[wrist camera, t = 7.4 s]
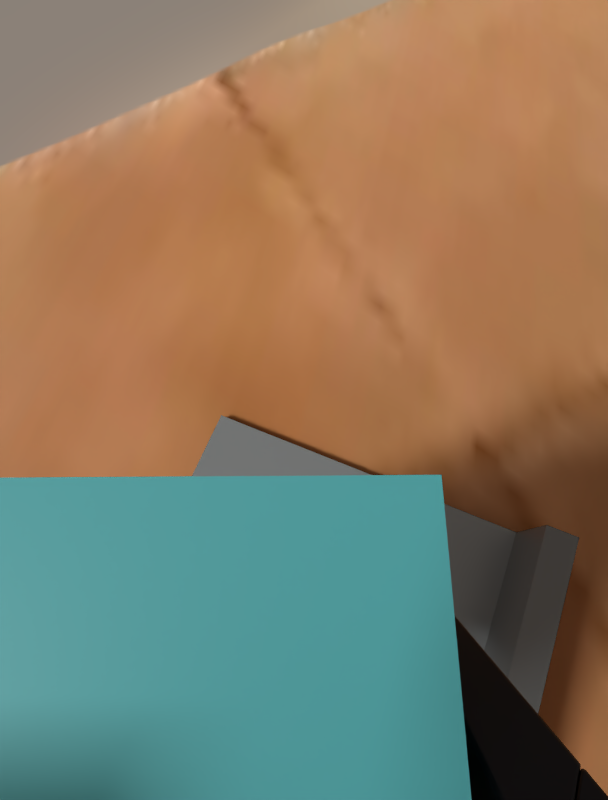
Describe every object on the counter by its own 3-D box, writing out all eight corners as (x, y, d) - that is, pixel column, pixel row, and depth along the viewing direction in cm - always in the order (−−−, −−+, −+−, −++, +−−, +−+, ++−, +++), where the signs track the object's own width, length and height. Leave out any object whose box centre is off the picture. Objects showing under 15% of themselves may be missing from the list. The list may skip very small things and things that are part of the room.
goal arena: (431, 968, 18) (458, 1056, 14) (54, 765, 20) (2, 802, 17) (540, 543, 22) (579, 537, 19) (222, 418, 24) (208, 392, 21)
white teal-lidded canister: (376, 770, 14) (506, 1166, 4) (155, 768, 14) (-178, 1151, 5) (366, 535, 16) (440, 464, 6) (173, 535, 16) (-30, 467, 7)
